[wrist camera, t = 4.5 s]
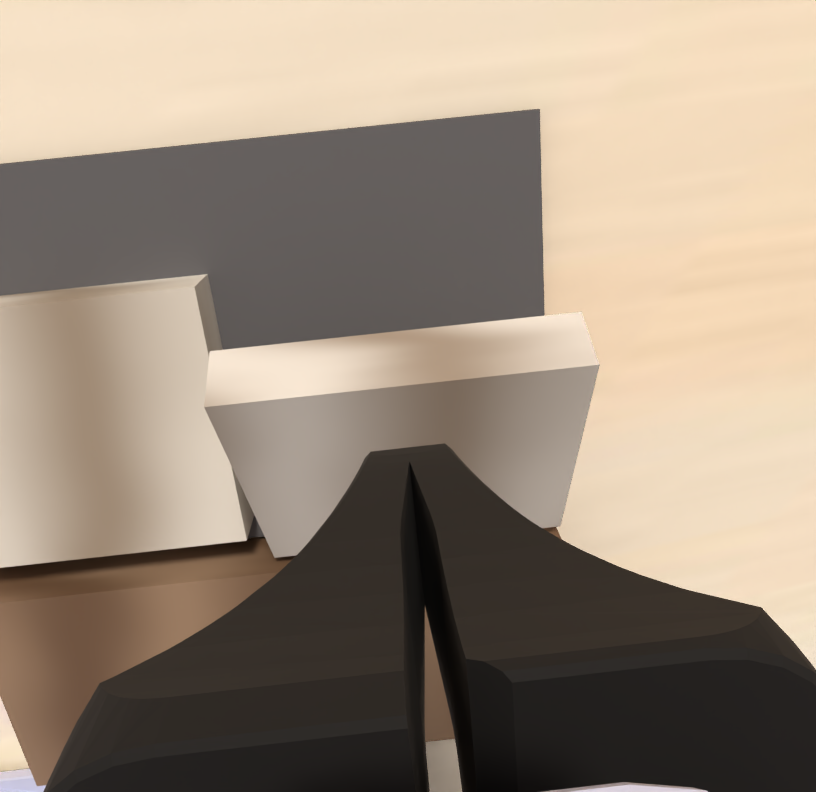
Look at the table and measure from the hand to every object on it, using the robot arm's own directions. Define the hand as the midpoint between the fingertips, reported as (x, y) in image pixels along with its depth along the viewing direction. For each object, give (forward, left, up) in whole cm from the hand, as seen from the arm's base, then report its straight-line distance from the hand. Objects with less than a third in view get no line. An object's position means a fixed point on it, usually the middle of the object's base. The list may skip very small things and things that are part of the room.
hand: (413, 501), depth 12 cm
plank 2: (0, -1, -6) cm, 6 cm away
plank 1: (-9, -1, -8) cm, 12 cm away
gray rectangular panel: (-4, 0, -8) cm, 9 cm away
